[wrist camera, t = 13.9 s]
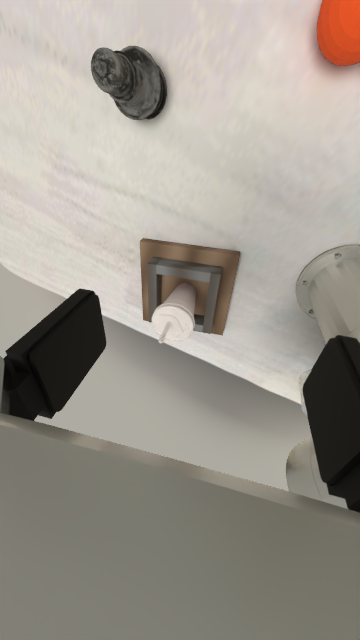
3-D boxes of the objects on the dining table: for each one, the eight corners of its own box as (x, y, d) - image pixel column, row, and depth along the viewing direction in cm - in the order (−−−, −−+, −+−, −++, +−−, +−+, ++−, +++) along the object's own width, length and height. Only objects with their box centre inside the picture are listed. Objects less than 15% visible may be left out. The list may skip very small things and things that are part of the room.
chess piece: (143, 133, 32) (98, 129, 22) (113, 83, 30) (49, 55, 20) (178, 98, 29) (144, 76, 20) (149, 40, 27) (94, -17, 17)
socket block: (240, 251, 38) (239, 263, 34) (223, 330, 47) (221, 345, 44) (143, 238, 40) (132, 247, 37) (145, 315, 50) (137, 329, 46)
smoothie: (183, 268, 40) (158, 315, 29) (211, 293, 41) (198, 347, 30) (161, 291, 44) (131, 341, 33) (187, 313, 45) (167, 368, 34)
